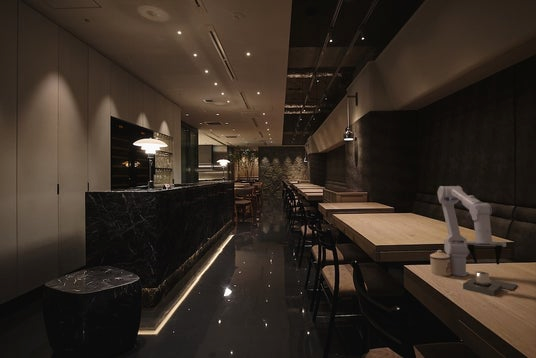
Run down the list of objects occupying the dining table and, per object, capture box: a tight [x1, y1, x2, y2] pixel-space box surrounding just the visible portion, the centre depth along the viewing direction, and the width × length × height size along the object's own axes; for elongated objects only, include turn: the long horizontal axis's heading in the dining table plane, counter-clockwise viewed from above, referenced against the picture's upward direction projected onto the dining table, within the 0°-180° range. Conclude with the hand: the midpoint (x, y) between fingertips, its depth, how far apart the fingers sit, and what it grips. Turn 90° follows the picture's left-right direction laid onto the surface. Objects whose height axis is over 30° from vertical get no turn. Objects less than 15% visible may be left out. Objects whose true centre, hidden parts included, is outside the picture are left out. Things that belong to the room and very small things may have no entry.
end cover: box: [475, 270, 490, 287], centre depth 128 cm, size 5×5×7 cm
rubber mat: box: [489, 279, 518, 292], centre depth 132 cm, size 9×9×1 cm
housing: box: [462, 277, 503, 297], centre depth 128 cm, size 11×11×2 cm
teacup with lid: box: [429, 249, 452, 277], centre depth 151 cm, size 12×9×12 cm
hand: (486, 263), depth 128 cm, fingers open, 7 cm apart
